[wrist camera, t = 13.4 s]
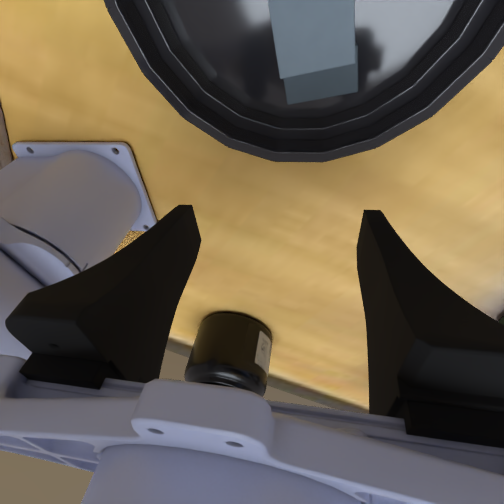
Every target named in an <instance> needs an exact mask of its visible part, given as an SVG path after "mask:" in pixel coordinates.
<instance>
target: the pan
mask: <svg viewBox="0 0 504 504" xmlns="http://www.w3.org/2000/svg"><path fill="white" fill-rule="evenodd" d="M104 2H105V5H106V8H107V9H108V12H109V14H110V16H111V18H112V19H113V21H114V23H115V25H116V27H117V28H118V30H119V32H120V34H121V36H122V37H123V39H124V41H125V43H126V44H127V46H128V48H129V50H130V52H131V53H132V55H133V57H134V59H135V60H136V62H137V64H138V66H139V68H140V69H141V71H142V73H143V74H144V76H145V77H146V78H147V79H148V80H149V81H150V82H151V83H152V84H153V85H154V87H155V88H156V89H157V90H158V91H159V92H160V93H161V94H162V95H163V96H164V98H165V99H166V100H167V101H168V102H169V103H170V104H171V105H172V106H173V107H174V108H175V110H176V111H177V112H178V113H179V114H180V115H181V116H182V117H183V118H184V119H185V120H187V121H188V122H190V123H191V124H193V125H195V126H196V127H198V128H199V129H201V130H202V131H204V132H205V133H207V134H208V135H210V136H211V137H213V138H214V139H216V140H218V141H219V142H221V143H222V144H224V145H225V146H228V148H232V149H235V150H238V151H241V152H245V153H248V154H251V155H254V156H258V157H261V158H264V159H267V160H270V161H275V162H327V161H330V160H334V159H338V158H342V157H345V156H349V155H353V154H356V153H360V152H364V151H368V150H371V149H375V148H377V147H380V146H381V145H383V144H385V143H387V142H388V141H390V140H392V139H394V138H395V137H397V136H399V135H401V134H402V133H404V132H406V131H408V130H409V129H411V128H413V127H415V126H416V125H418V124H420V123H422V122H423V121H425V120H427V119H429V118H430V117H432V116H433V115H435V114H436V113H437V112H438V111H439V110H440V109H441V108H442V107H443V106H444V105H446V104H447V103H448V102H449V101H450V100H451V99H452V98H453V97H454V96H455V95H456V94H457V93H459V92H460V91H461V90H462V89H463V88H464V87H465V86H466V85H467V84H468V83H469V82H470V81H472V80H473V79H474V78H475V77H476V76H477V75H478V74H479V73H480V72H481V71H482V70H483V69H485V68H486V67H487V66H488V65H489V64H490V63H491V62H492V60H494V59H495V57H496V56H497V54H498V53H499V52H500V50H501V49H502V47H503V46H504V0H355V42H357V45H358V92H355V93H350V94H344V95H339V96H334V97H328V98H323V99H317V100H312V101H306V102H301V103H295V104H290V105H288V104H287V99H286V93H285V86H284V80H283V79H280V75H279V69H278V63H277V56H276V50H275V44H274V37H273V31H272V25H271V18H270V12H269V6H268V0H104Z"/></svg>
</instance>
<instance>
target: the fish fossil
mask: <svg viewBox="0 0 504 504" xmlns="http://www.w3.org/2000/svg"><path fill="white" fill-rule="evenodd" d="M0 105H1V104H0ZM7 139H8V137H7V133H6V130H5V124H4V118H3V113H2V110H1V108H0V170H1V169H2V168H4V167H5V166H7V165H8V164H9V163H11V162H12V161H13V158H12V155H11V152H10V148H9V143H8V141H7Z"/></svg>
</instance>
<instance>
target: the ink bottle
mask: <svg viewBox="0 0 504 504" xmlns="http://www.w3.org/2000/svg"><path fill="white" fill-rule="evenodd" d="M271 349H272V336H271V333H270V332H269V330H268V329H267V328H266V327H265V326H263V325H262V324H260V323H259V322H257V321H255V320H253V319H250V318H248V317H245V316H241V315H237V314H231V313H218V314H214V315H211V316H209V317H207V318H206V319H205V320H203V322H202V323H201V325H200V327H199V330H198V333H197V336H196V339H195V342H194V345H193V348H192V351H191V354H190V357H189V360H188V363H187V366H186V370H185V381H188V382H196V383H203V384H211V385H219V386H226V387H234V388H239V389H243V390H247V391H252V392H254V393H256V394H258V395H260V396H262V397H263V395H264V393H265V390H266V385H267V378H268V371H269V363H270V356H271Z"/></svg>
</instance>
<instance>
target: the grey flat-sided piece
mask: <svg viewBox="0 0 504 504" xmlns="http://www.w3.org/2000/svg"><path fill="white" fill-rule="evenodd" d="M268 6H269V12H270V18H271V25H272V31H273V37H274V44H275V50H276V56H277V63H278V69H279V75H280V79H283V80H284V86H285V93H286V99H287V104H288V105H290V104H295V103H301V102H306V101H312V100H317V99H323V98H328V97H334V96H339V95H344V94H350V93H355V92H358V45H357V42H355V0H268Z"/></svg>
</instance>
